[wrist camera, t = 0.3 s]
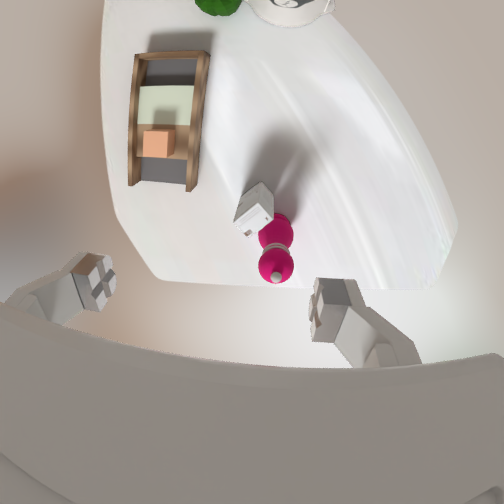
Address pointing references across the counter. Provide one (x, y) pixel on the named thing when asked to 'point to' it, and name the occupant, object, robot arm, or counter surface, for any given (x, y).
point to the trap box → (167, 114)
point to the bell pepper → (218, 6)
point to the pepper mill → (276, 250)
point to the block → (158, 143)
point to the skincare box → (255, 210)
